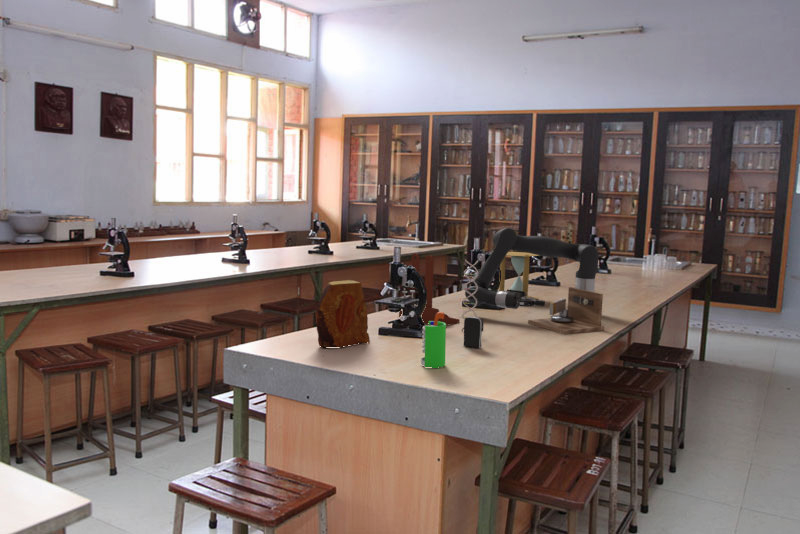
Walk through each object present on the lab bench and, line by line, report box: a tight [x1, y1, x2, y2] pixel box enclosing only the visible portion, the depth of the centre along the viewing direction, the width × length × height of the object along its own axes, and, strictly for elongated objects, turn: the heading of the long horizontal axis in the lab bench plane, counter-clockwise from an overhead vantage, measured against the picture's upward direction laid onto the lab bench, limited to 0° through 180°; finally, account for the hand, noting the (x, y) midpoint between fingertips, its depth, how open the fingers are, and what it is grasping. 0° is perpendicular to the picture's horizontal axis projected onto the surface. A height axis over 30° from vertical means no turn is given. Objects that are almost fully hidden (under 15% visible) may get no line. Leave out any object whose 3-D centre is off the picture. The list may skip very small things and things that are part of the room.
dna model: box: [461, 259, 479, 332], centre depth 289 cm, size 7×6×30 cm
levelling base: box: [527, 287, 605, 335], centre depth 307 cm, size 22×24×16 cm
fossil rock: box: [314, 279, 371, 348], centre depth 260 cm, size 24×8×24 cm, turn 128°
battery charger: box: [463, 315, 484, 349], centre depth 264 cm, size 7×4×11 cm, turn 55°
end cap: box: [506, 289, 526, 297], centre depth 367 cm, size 10×7×7 cm
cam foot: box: [549, 298, 574, 323], centre depth 308 cm, size 20×10×10 cm, turn 148°
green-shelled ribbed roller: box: [420, 311, 447, 369], centre depth 235 cm, size 9×8×18 cm
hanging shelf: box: [398, 253, 460, 326], centre depth 313 cm, size 24×13×30 cm, turn 47°
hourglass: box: [498, 251, 540, 299], centre depth 381 cm, size 24×22×25 cm
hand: (544, 303), depth 307 cm, fingers closed
